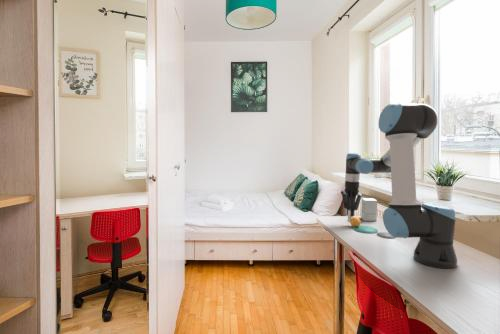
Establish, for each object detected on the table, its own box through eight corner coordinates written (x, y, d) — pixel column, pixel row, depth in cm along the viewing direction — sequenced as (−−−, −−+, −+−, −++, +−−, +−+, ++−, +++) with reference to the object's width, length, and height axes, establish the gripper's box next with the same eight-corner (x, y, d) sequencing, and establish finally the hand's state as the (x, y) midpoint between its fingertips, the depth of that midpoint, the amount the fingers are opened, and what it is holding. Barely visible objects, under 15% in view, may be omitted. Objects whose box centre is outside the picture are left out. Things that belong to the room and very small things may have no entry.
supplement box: (372, 217, 184) (373, 198, 183) (376, 221, 177) (377, 200, 175) (360, 217, 185) (361, 197, 184) (364, 220, 177) (364, 200, 176)
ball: (359, 228, 167) (364, 221, 164) (353, 229, 164) (358, 223, 161) (352, 221, 170) (357, 214, 167) (346, 222, 167) (351, 215, 164)
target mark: (382, 230, 160) (382, 229, 160) (369, 235, 152) (369, 234, 152) (361, 224, 170) (361, 224, 170) (347, 228, 162) (347, 228, 162)
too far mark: (399, 236, 150) (399, 235, 150) (390, 239, 145) (390, 239, 145) (382, 231, 158) (382, 231, 158) (373, 234, 152) (373, 234, 152)
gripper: (366, 181, 163) (364, 223, 165) (346, 178, 173) (344, 217, 176) (358, 183, 158) (356, 225, 161) (338, 179, 168) (336, 219, 171)
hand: (350, 221), depth 168 cm, fingers closed
